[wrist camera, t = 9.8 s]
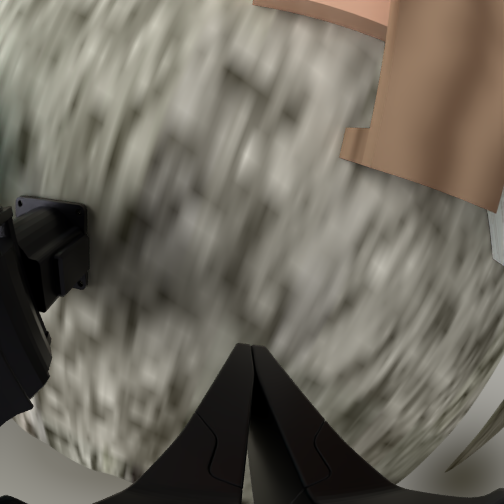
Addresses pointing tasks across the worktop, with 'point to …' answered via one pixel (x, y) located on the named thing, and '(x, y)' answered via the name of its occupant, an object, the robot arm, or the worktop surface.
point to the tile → (340, 13)
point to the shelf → (440, 100)
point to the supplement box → (497, 231)
